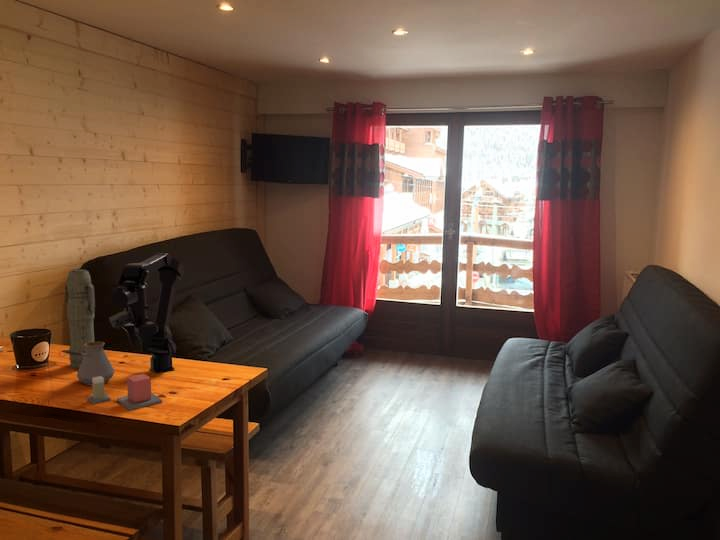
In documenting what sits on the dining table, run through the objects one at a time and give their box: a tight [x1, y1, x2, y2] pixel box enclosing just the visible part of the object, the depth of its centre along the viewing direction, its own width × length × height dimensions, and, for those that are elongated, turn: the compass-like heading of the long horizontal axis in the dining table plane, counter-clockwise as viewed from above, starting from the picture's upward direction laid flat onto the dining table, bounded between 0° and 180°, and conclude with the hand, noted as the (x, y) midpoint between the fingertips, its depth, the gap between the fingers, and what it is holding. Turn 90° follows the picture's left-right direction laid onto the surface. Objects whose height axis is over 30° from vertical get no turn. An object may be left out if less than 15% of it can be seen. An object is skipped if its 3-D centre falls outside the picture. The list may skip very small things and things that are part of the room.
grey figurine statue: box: [64, 268, 96, 370], centre depth 209 cm, size 9×12×35 cm
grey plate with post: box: [116, 392, 163, 411], centre depth 178 cm, size 10×10×7 cm
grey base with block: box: [87, 376, 111, 405], centre depth 179 cm, size 5×5×7 cm
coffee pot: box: [58, 341, 115, 386], centre depth 190 cm, size 21×12×15 cm, turn 168°
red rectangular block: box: [126, 373, 152, 403], centre depth 178 cm, size 5×5×7 cm
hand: (138, 349), depth 192 cm, fingers open, 9 cm apart
